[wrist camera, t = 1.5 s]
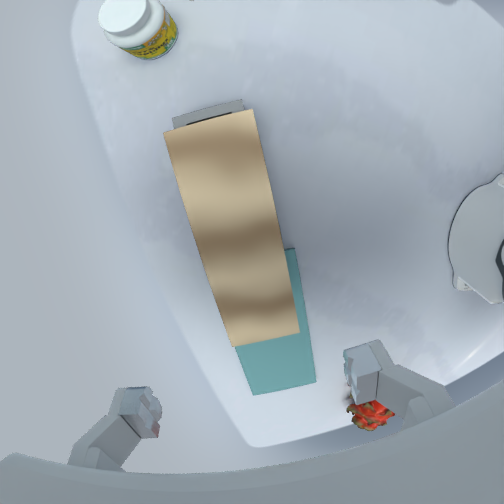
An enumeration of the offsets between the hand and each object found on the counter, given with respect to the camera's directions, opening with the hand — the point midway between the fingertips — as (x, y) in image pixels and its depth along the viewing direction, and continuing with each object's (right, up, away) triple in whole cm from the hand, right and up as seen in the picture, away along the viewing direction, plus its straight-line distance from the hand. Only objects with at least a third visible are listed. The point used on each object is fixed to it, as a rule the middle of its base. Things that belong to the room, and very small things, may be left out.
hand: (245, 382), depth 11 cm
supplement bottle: (-10, +27, +13) cm, 31 cm away
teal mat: (+3, -6, +28) cm, 29 cm away
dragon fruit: (+20, -18, +35) cm, 44 cm away
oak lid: (-1, +7, +15) cm, 17 cm away
